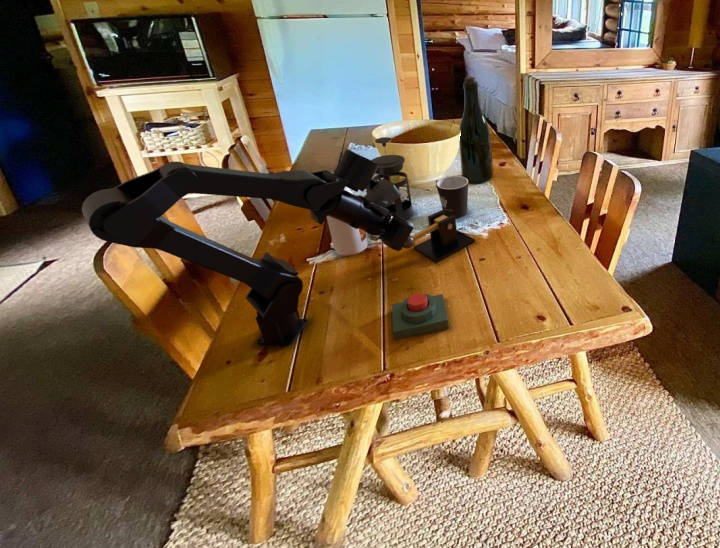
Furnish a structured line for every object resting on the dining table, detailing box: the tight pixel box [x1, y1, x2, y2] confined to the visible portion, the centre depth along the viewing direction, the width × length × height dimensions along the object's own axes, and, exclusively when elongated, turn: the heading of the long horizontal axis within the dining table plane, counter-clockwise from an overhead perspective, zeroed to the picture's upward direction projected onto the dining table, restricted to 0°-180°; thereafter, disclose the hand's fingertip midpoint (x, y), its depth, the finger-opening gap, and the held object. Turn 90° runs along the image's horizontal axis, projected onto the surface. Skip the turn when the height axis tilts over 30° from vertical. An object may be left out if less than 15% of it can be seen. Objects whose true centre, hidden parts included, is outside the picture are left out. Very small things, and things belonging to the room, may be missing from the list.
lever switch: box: [413, 209, 476, 264], centre depth 108 cm, size 12×9×9 cm
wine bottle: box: [458, 76, 494, 184], centre depth 139 cm, size 10×10×33 cm
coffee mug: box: [435, 175, 469, 220], centre depth 123 cm, size 12×9×10 cm
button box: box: [391, 293, 450, 340], centre depth 85 cm, size 10×8×4 cm
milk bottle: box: [326, 171, 369, 256], centre depth 105 cm, size 8×8×20 cm
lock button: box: [407, 292, 428, 312], centre depth 84 cm, size 4×4×2 cm
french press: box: [370, 136, 415, 221], centre depth 118 cm, size 12×9×23 cm
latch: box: [402, 215, 447, 249], centre depth 103 cm, size 13×3×3 cm, turn 139°
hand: (406, 234), depth 99 cm, fingers closed
